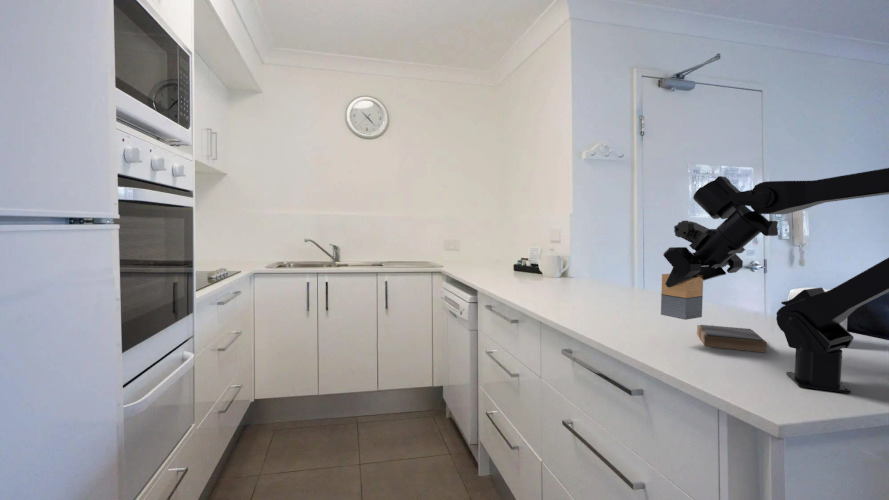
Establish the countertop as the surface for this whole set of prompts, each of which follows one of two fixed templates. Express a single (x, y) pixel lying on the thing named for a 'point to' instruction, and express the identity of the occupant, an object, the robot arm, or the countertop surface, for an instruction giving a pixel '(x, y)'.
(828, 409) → the countertop surface
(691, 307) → the tan and grey block
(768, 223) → the robot arm
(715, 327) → the walnut stand
